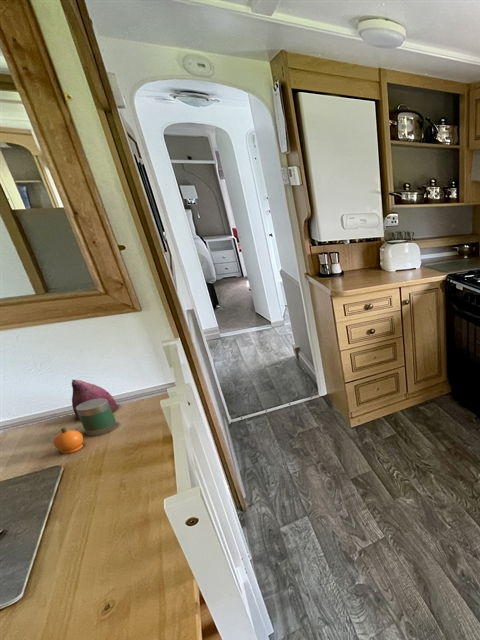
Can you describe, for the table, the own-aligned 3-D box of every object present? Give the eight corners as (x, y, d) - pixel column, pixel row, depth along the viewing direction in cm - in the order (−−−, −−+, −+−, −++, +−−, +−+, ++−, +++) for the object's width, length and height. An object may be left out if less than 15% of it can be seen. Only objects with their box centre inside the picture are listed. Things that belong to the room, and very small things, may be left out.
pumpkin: (51, 455, 105) (41, 434, 102) (71, 442, 110) (62, 422, 107) (72, 455, 105) (63, 434, 102) (91, 442, 110) (83, 422, 108)
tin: (79, 435, 113) (68, 410, 110) (100, 422, 120) (90, 397, 116) (103, 436, 113) (92, 410, 110) (123, 423, 120) (114, 398, 116)
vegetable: (93, 430, 121) (64, 397, 112) (72, 419, 124) (43, 387, 115) (127, 408, 129) (103, 376, 120) (107, 399, 132) (82, 366, 122)
